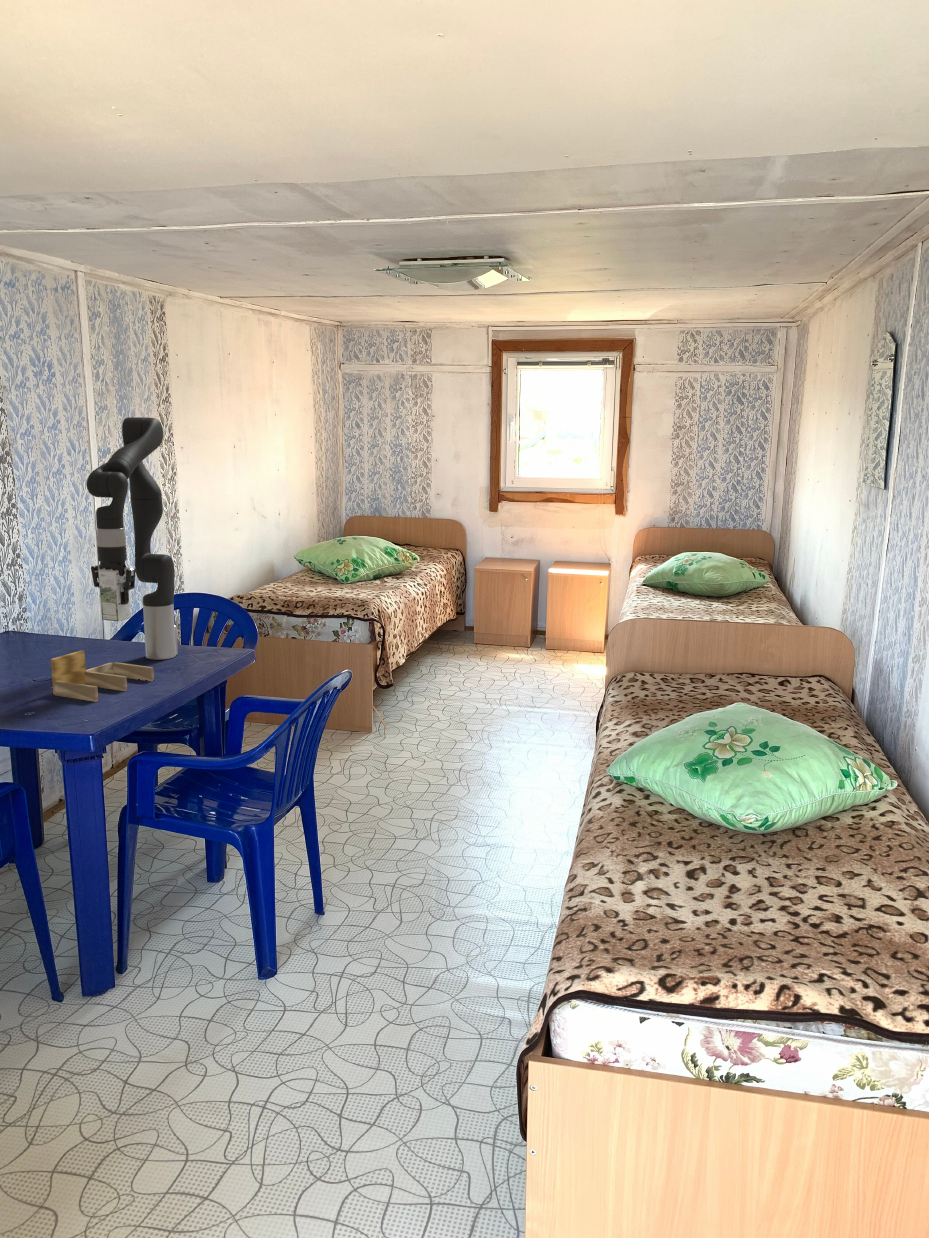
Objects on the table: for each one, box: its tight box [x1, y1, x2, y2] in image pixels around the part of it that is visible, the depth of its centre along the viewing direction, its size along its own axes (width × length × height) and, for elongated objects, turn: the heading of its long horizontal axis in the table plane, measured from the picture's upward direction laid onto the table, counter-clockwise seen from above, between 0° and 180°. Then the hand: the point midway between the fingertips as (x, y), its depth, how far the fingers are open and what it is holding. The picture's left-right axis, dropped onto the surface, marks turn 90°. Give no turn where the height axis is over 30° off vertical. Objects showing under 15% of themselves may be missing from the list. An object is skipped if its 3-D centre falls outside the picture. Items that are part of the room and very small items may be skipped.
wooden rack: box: [50, 650, 155, 703], centre depth 249 cm, size 23×15×10 cm, turn 159°
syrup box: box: [98, 569, 131, 622], centre depth 250 cm, size 6×6×14 cm
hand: (115, 603), depth 250 cm, fingers closed on syrup box, 6 cm apart
